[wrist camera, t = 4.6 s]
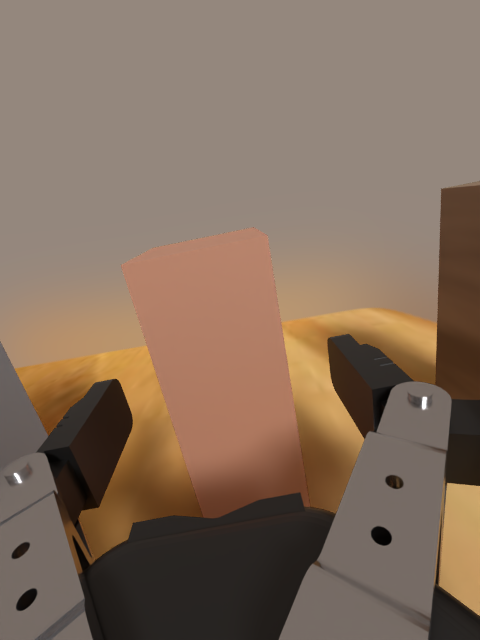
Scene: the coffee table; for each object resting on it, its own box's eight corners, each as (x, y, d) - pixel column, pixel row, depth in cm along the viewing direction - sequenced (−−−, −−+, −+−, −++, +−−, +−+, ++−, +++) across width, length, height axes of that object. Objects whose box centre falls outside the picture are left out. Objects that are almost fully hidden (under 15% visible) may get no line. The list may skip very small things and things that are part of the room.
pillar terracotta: (209, 536, 13) (120, 265, 9) (213, 458, 18) (153, 247, 14) (311, 518, 13) (267, 235, 9) (290, 443, 18) (253, 227, 13)
